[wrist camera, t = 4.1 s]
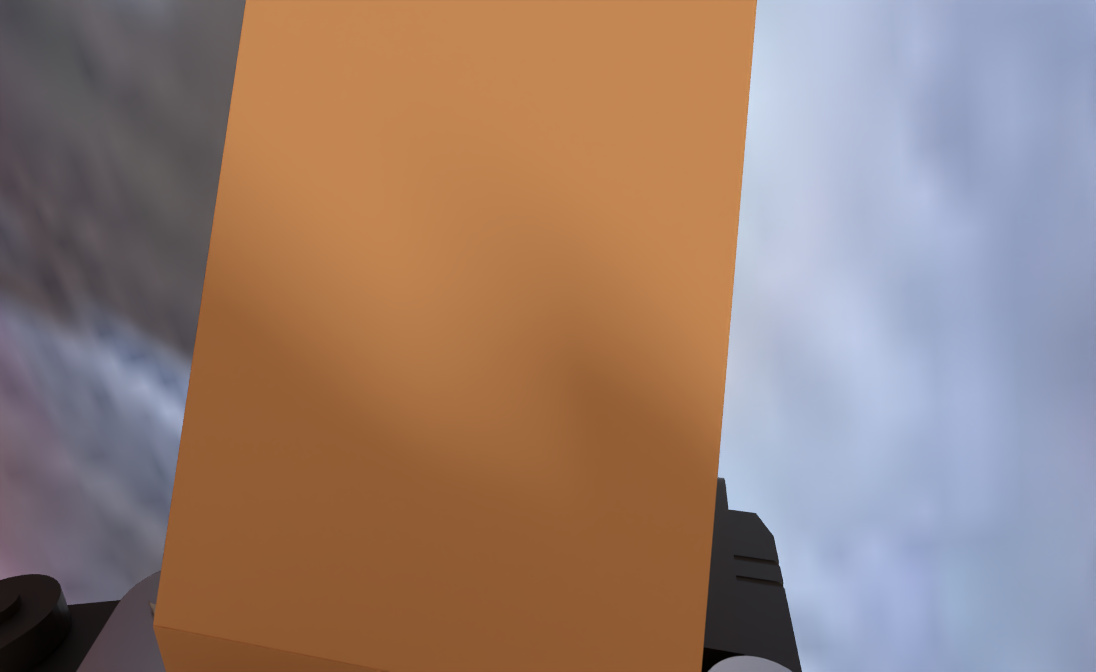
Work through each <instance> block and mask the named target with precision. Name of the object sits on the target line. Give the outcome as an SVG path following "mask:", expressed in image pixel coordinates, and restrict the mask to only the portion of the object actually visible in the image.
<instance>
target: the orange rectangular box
mask: <svg viewBox="0 0 1096 672" xmlns="http://www.w3.org/2000/svg"><path fill="white" fill-rule="evenodd" d="M756 5H757V0H246V4H245V10H244V17H243V24H242V30H241V37H240V44H239V51H238V57H237V64H236V71H235V77H234V84H233V91H232V98H231V104H230V111H229V118H228V125H227V131H226V138H225V145H224V151H223V158H222V165H221V172H220V178H219V185H218V192H217V198H216V205H215V212H214V219H213V225H212V232H211V239H210V246H209V252H208V259H207V266H206V272H205V279H204V286H203V293H202V299H201V306H200V313H199V319H198V326H197V333H196V340H195V346H194V353H193V360H192V367H191V373H190V380H189V387H188V393H187V400H186V407H185V414H184V420H183V427H182V434H181V441H180V447H179V454H178V461H177V467H176V474H175V481H174V488H173V494H172V501H171V508H170V514H169V521H168V528H167V535H166V541H165V548H164V555H163V562H162V568H161V575H160V582H159V588H158V595H157V602H156V609H155V615H154V622H153V629H154V632H155V636H156V639H157V642H158V646H159V649H160V653H161V656H162V660H163V663H164V667H165V670H166V672H701V670H702V658H703V646H704V634H705V622H706V610H707V598H708V586H709V573H710V561H711V549H712V537H713V525H714V513H715V501H716V489H717V477H718V465H719V453H720V440H721V428H722V416H723V404H724V392H725V380H726V368H727V356H728V344H729V332H730V320H731V308H732V295H733V283H734V271H735V259H736V247H737V235H738V223H739V211H740V199H741V187H742V175H743V162H744V150H745V138H746V126H747V114H748V102H749V90H750V78H751V66H752V54H753V42H754V30H755V17H756Z"/></svg>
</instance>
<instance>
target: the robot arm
mask: <svg viewBox="0 0 1096 672" xmlns="http://www.w3.org/2000/svg"><path fill="white" fill-rule="evenodd" d="M160 575H161V571H159V572H156V573H154V574H153V575H151V576H149V577H147V578H145V579H144V580H142V581H141V582H139V583H138V584H137V585H135V586H134V587H133V588H132V589H131V590H129V592H128V593H127V594H126V595H125V596H124V597H123V598H122V599H121V600H117V601H107V602H96V603H86V604H75V605H67V603H66V600H65V597H64V594H63V592H62V589H61V586H60V584H59V583H58V581H57V580H55V579H54V578H52V577H50V576H47V575H40V574H29V575H20V576H15V577H10V578H7V579H3V580H0V672H166V670H165V667H164V663H163V660H162V656H161V653H160V649H159V646H158V642H157V639H156V636H155V632H154V629H153V622H154V615H155V609H156V602H157V595H158V588H159V582H160ZM701 672H802V670H801V665H800V660H799V656H798V651H797V646H796V641H795V636H794V632H793V627H792V622H791V617H790V612H789V608H788V603H787V598H786V593H785V589H784V588H783V579H782V574H781V569H780V566H779V560H778V555H777V550H776V545H775V541H774V536H773V535H772V534H771V532H770V531H769V530H768V528H767V527H766V526H765V525H764V523H763V522H762V521H761V519H760V518H759V517H758V516H757V514H756V513H750V512H743V511H735V510H728V502H727V493H726V485H725V479H724V478H718V477H717V489H716V501H715V513H714V525H713V537H712V549H711V561H710V573H709V586H708V598H707V610H706V622H705V634H704V646H703V658H702V670H701Z"/></svg>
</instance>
